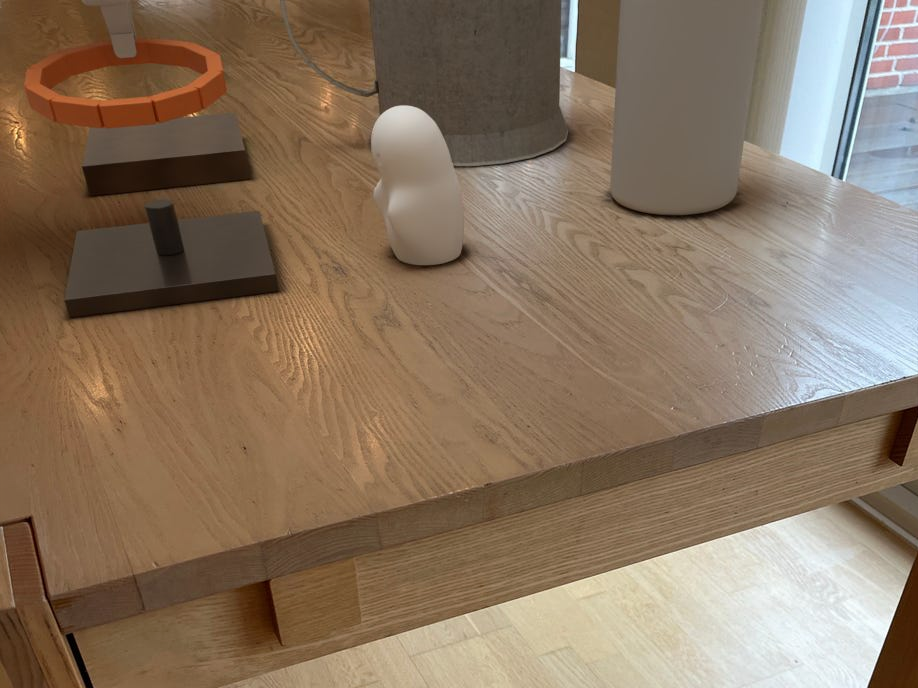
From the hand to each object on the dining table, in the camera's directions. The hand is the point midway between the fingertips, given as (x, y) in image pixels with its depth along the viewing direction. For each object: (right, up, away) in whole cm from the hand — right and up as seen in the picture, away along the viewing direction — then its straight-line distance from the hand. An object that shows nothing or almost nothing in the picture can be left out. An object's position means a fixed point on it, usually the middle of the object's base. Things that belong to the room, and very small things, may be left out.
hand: (127, 53), depth 81 cm
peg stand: (+3, -17, +4) cm, 17 cm away
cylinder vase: (+49, -6, +15) cm, 52 cm away
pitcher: (+25, +10, +33) cm, 42 cm away
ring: (+2, -6, -4) cm, 7 cm away
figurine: (+25, -15, +5) cm, 30 cm away
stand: (-6, +4, +28) cm, 29 cm away
